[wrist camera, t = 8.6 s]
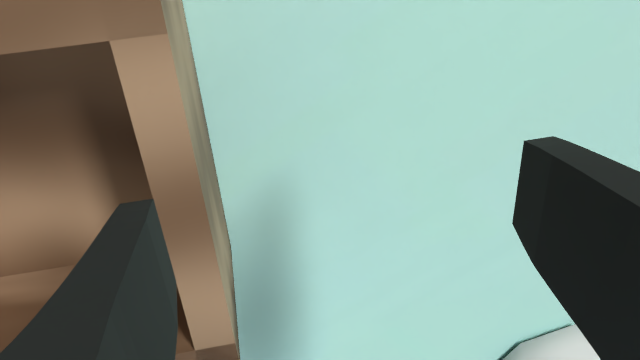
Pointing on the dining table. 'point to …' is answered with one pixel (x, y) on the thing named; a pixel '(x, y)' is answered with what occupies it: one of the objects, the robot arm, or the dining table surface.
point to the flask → (555, 347)
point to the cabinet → (107, 156)
